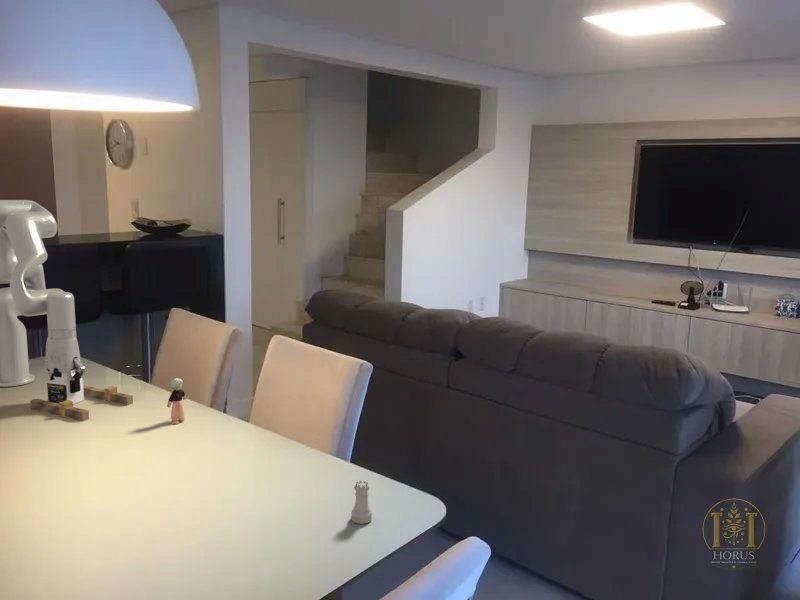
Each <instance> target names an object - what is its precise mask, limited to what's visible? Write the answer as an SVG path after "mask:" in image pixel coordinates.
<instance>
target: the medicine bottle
mask: <svg viewBox="0 0 800 600" xmlns="http://www.w3.org/2000/svg"><path fill="white" fill-rule="evenodd" d="M73 369H74V368H72V370H73ZM53 373H54V380H51V381H50V380H49V381H47V382H46V387H47V401H49V402H54V403H58V404H59V403H60V402H63V401H66V400H70V401H73V405H75V404H77V403H81V402H82V401H84V400H85V396H84V392H83V385H84V379H83V378H82V377H81V378H80V391H78V392H75V393H70V380H71V378H70V376H69V374H68V373H62V372H59V369H57V368H54V370H53ZM72 373H73V375H75V372H72Z"/></svg>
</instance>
